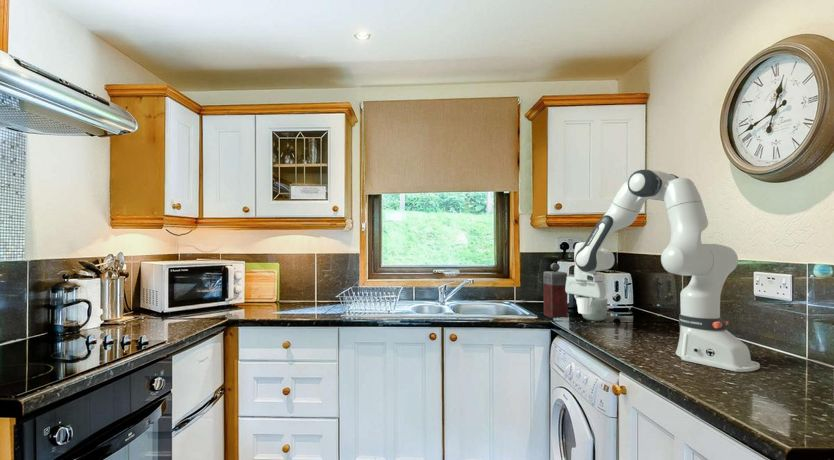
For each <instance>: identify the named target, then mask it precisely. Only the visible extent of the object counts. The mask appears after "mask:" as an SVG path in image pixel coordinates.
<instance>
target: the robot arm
mask: <svg viewBox="0 0 834 460" xmlns="http://www.w3.org/2000/svg"><path fill="white" fill-rule="evenodd" d="M648 200H654V201H662V202H664V207H665V209H666V210H665V211H666V213H667V217H668V222H669V223H668V224H669V227H670V239H669V242H668V245H667V246H666V247H665V248H664V249H663V251H662V252H661V256H660V262H661V265H662V267H663V269H664V270H665V271H667V273H669V274H673V275H677V276H678V275H679V276H683V277H684V276H685V277H686V276H690V277H691V278H690V281H689V283H688V285H686V286H685V287H684V288H683V289H682V290H681V291H680V294H679V296H680V299H679V300H680V304H679V305H680V313H679V314H678V325H679V326H678V327H679V339H678V343H677V347H676V350H675V355H676V356H678V357H680V359H681V360H682V361H685V362H690V363H695V364H700V365H703V366H708V367H713V368H718V369H723V370H728V371H731V372H741V373H743V372H746V373H748V372H754V371H757V370H759V369H760V368H761V365H760V363H759V362H757V361H755V360H752V359H751V358H752V357H751V353H750V352H751V351H750V350H749V347H748V346H747V345H746V344H745V343H744V342H742V341H741V340H740V339H738V338H737V337H736V336H735V335H733V333H732V332H730V331H728V330H727V325H730V324H729V322H730V321H728V320H727V321H725V320H724V319H723V318H722V317H721V295H722V291H723V290H722V289H723V286H724V284H725V282H726V281H727V278H728V277H729V275H730V274H731V273H732V272H733V271H735V269H736V268H737V266H738V263H739V257H738V255H737V253H736V251H735V250H734V249H733V248H732V247H730V246H726V245H724V244H723V245H722V244H718V243H702V233H703V231H705V230H706V229H707V228H708V226H709V221H708V217H707V214H706V210H705V207H704V203H703V200H702V198H701V194H700V193H699V190H698V188H697V187H696V185H695V183H694V182H693V181H692V179H690V178H689V177H688V178H687V177H679V176H677V175H675V174H671V173H667V172H663V171H661V170H652V169H651V170H650V169H640V170H635V171H634V172H633V173H632V174H630V176H629V177H628V180H627V181H625V182H623V184H622V185H621V186H620V188H619V189H618V191H617V193H616V194H615V196H614V198H613V200H612V202H611V203H610V206H609V208H608V209H607V211H606V212H605V213H604V215H603V216H602V217H601V218H599V220H598V221H597V223H596V225H595V226H594V227H593V229H592V231H591V233H590V235H589V236H588V238H587V240H583V241H579V242H576V244H575V245H574V250H573V251H574V253H573V260H574V268H573V270H574V271H573V274H571V273H570V274H567V280H566V286H565V291H566V293H567V294H568V295H573V296H574V297H573V298H575V301H576V302H575V303H576V305H577V297H583V296H588V297H589V299H591V300H590V302H589V307H593V302H594V300H595V298H606V296H607V295H606V293H607V290H606V283H605V282H604V281H605V279H606V277H605V275H602V274H600V273H598V272H596V271H605V270H609V269H611V268H613V266H614V265H615V262H616V257H615V254H614V253H613V251H611V250H610V249H608V248H607V249H606V248H604V247H602V246H603V244H604V242H605V241H606V240H607V238H608V237H609V236H610V235H611V234H612V233H615V232H616V231H618V230H621V229H625V228H626V227H630V226H631V225H632V224H633V223H634V222H635V221H636V219H637V218H638V216H639V214H640V211H641V210H642V208H643V205H644V204H645V202H646V201H648Z"/></svg>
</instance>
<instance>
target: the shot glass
mask: <svg viewBox="0 0 834 460" xmlns="http://www.w3.org/2000/svg"><path fill="white" fill-rule="evenodd" d="M590 300H591V299H589V297H583V296H580V297H577V304H576V306H577V312H578V314H581V315H582V314H591V311H592V307H589V302H590Z"/></svg>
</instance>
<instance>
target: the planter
mask: <svg viewBox="0 0 834 460" xmlns="http://www.w3.org/2000/svg"><path fill="white" fill-rule="evenodd" d="M582 297H588V296H582ZM581 315H582V317H583V319H585V320H588V321H595V322H596V321H597V322H599V321H600V322H602V321H604V320H605V319H606V318H607V316H608V298H607V297H604V298H595V300H594V302H593V307H592V311H591V314H581Z"/></svg>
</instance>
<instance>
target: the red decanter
mask: <svg viewBox="0 0 834 460" xmlns="http://www.w3.org/2000/svg"><path fill="white" fill-rule="evenodd" d="M560 268H561V266H560V264H559V263H556V262H553V263H551V264H550V270H551V271H549V270H548V271H547V270H546V271H543V316H546V317H548V318H551V319H556V318H557V317H558V318H557V319H559V318H560V317H565V318H568V293H566V291H565V286H566V280H567V276H568V272H564V271H559V270H560Z"/></svg>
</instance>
